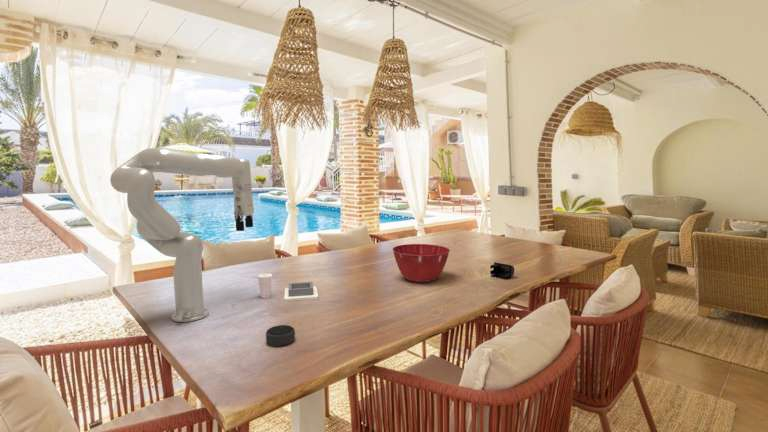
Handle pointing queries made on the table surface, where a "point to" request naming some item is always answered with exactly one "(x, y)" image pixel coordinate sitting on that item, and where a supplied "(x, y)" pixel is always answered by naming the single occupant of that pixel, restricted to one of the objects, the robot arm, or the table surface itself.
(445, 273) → the table surface
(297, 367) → the table surface
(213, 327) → the table surface
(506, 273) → the end cap
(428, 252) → the mixing bowl
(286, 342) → the smart speaker
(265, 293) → the smoothie
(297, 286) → the socket board
